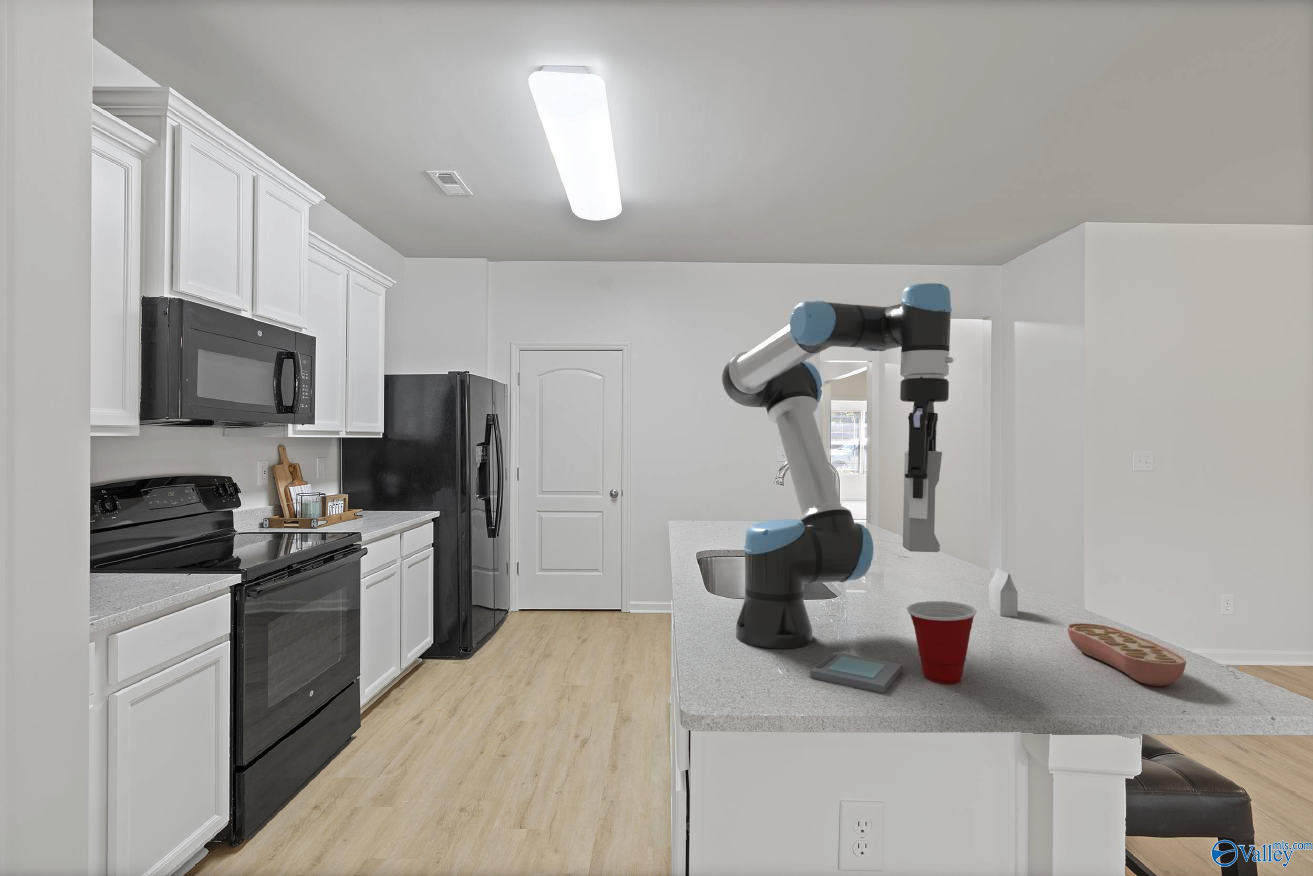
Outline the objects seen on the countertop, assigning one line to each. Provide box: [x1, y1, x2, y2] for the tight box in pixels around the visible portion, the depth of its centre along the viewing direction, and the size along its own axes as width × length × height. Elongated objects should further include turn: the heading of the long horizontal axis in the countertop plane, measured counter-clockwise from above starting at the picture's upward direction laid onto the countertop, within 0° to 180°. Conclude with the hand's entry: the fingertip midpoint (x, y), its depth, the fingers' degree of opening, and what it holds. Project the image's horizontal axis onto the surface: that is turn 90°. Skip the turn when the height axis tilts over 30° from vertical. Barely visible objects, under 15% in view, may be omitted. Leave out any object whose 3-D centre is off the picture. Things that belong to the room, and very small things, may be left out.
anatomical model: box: [1067, 622, 1187, 687], centre depth 114 cm, size 23×10×5 cm, turn 178°
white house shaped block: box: [988, 567, 1019, 618], centre depth 150 cm, size 4×7×10 cm, turn 173°
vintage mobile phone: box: [902, 450, 943, 553], centre depth 109 cm, size 4×5×25 cm
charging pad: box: [809, 651, 903, 694], centre depth 111 cm, size 12×12×1 cm
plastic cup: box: [906, 600, 977, 685], centre depth 109 cm, size 11×11×12 cm
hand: (921, 515), depth 109 cm, fingers closed on vintage mobile phone, 5 cm apart
